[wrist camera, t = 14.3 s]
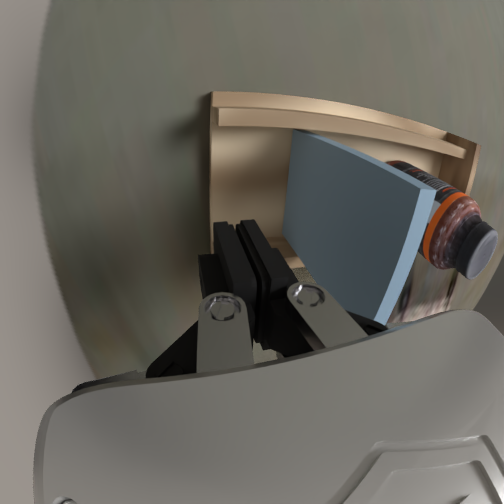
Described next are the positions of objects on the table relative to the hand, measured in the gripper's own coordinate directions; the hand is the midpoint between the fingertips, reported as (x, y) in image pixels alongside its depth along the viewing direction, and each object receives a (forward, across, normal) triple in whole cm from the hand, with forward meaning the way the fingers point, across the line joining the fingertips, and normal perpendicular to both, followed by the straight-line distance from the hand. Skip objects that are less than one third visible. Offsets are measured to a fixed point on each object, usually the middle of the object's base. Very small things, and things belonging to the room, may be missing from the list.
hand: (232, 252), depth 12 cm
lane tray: (+10, -12, 0) cm, 16 cm away
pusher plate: (+8, -6, 0) cm, 10 cm away
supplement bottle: (+9, -16, 0) cm, 18 cm away
